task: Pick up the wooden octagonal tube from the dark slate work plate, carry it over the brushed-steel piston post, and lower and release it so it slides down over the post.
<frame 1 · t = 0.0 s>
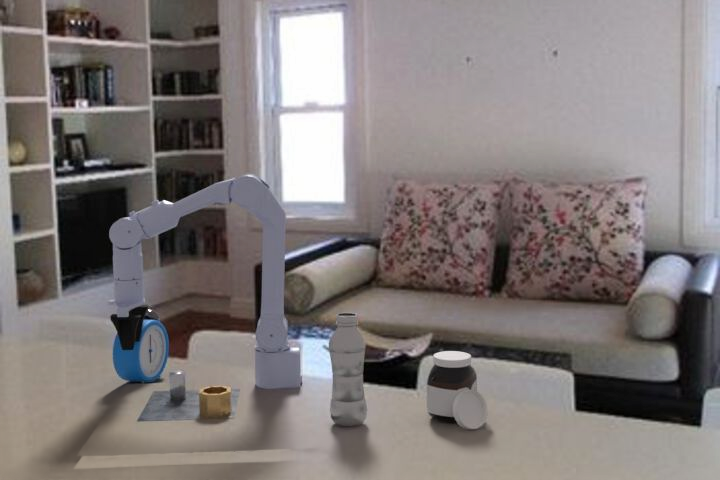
hand: (131, 345, 173), 10 cm above the table, tool pointing down, fingers open, 6 cm apart
wooden octagonal tube: (215, 411, 158), point 1 cm above the table, touching work plate
plastic bottle: (348, 425, 155), on the table
spread jar: (458, 421, 157), on the table
alarm clock: (142, 382, 184), on the table, touching gripper
work plate: (191, 411, 163), on the table
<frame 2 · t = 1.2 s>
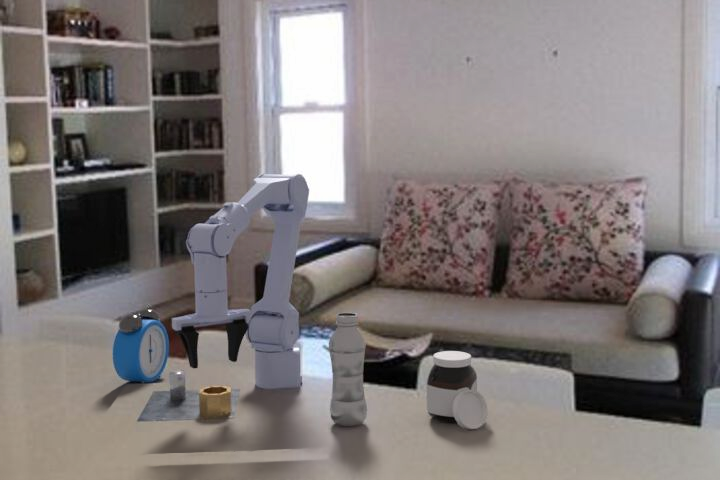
hand: (213, 363, 157), 10 cm above the table, tool pointing down, fingers open, 7 cm apart
alarm clock: (142, 382, 184), on the table
everything else where it was.
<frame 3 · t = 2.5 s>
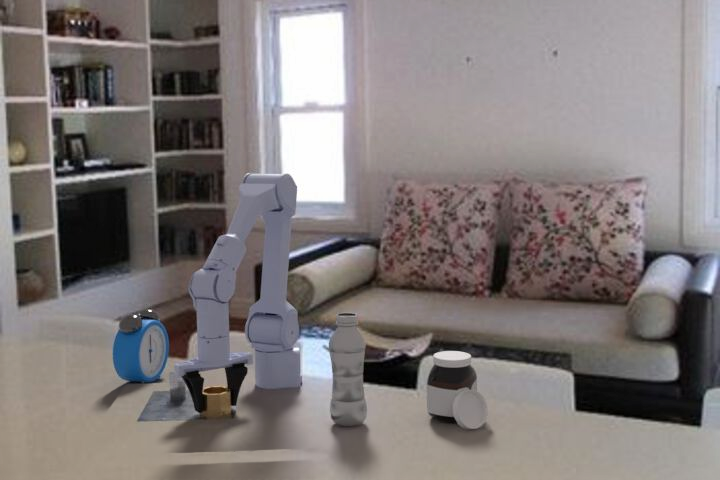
hand: (215, 407, 158), 2 cm above the table, tool pointing down, fingers closed on wooden octagonal tube, 6 cm apart
wooden octagonal tube: (215, 411, 158), point 1 cm above the table, touching gripper, work plate
everything else where it was.
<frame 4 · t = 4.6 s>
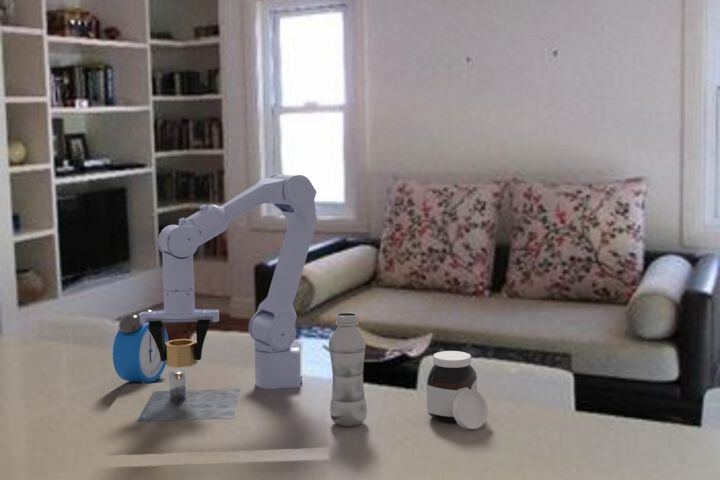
hand: (181, 359, 165), 9 cm above the table, tool pointing down, fingers closed on wooden octagonal tube, 6 cm apart
wooden octagonal tube: (181, 363, 165), point 9 cm above the table, touching gripper
everything else where it was.
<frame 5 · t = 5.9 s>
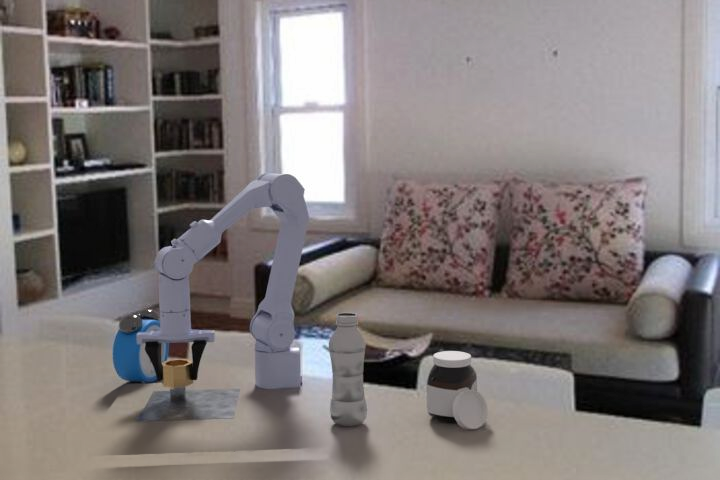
hand: (177, 379, 166), 5 cm above the table, tool pointing down, fingers closed on wooden octagonal tube, 6 cm apart
wooden octagonal tube: (177, 383, 166), point 4 cm above the table, touching gripper
everything else where it was.
when the fingers open (5 cm above the table, at t = 7.1 s): wooden octagonal tube drops 3 cm, resting on work plate.
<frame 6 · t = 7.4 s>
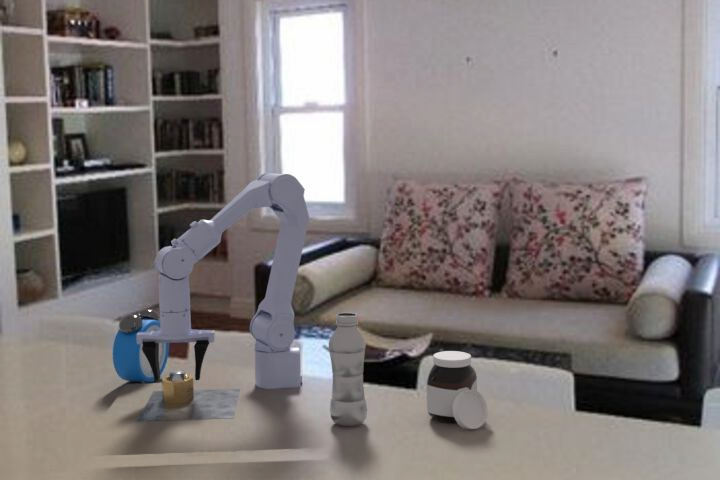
hand: (177, 379, 166), 5 cm above the table, tool pointing down, fingers open, 7 cm apart
wooden octagonal tube: (178, 398, 167), point 1 cm above the table, touching work plate
everything else where it was.
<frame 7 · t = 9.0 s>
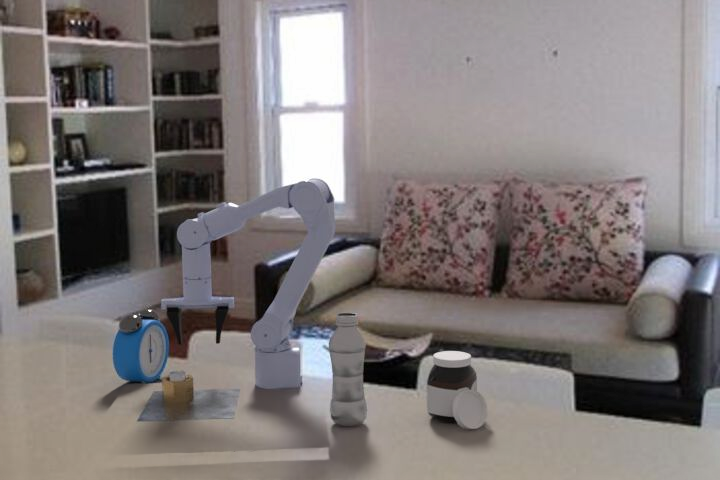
hand: (199, 343, 178), 9 cm above the table, tool pointing down, fingers open, 7 cm apart
nothing on the table moved.
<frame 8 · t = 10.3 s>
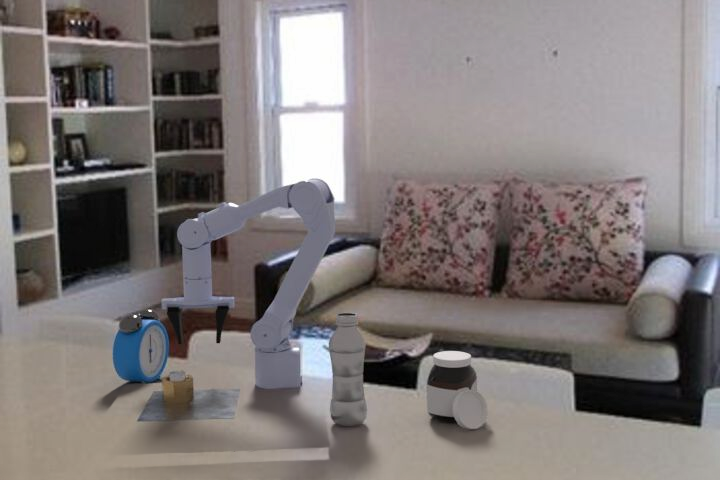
hand: (199, 342, 178), 9 cm above the table, tool pointing down, fingers open, 7 cm apart
nothing on the table moved.
at the end: wooden octagonal tube 0.1 cm from the target spot on the work plate, point 1.5 cm above the work plate's base; wooden octagonal tube tilted 0°; the gripper is holding nothing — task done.
